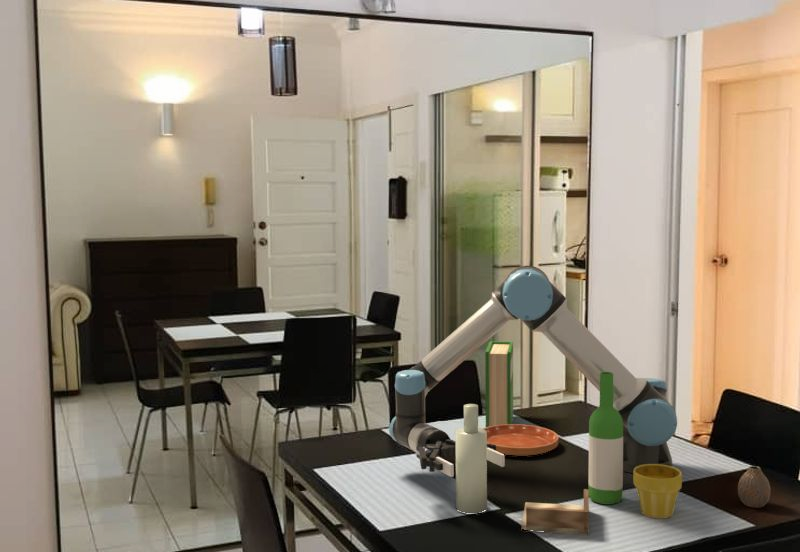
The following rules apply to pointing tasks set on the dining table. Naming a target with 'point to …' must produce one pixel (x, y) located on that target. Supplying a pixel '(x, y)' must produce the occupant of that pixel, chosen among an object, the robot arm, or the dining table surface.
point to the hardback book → (499, 383)
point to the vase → (754, 488)
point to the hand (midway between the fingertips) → (478, 465)
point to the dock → (557, 517)
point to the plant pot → (657, 488)
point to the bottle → (471, 464)
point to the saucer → (521, 439)
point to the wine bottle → (606, 447)
